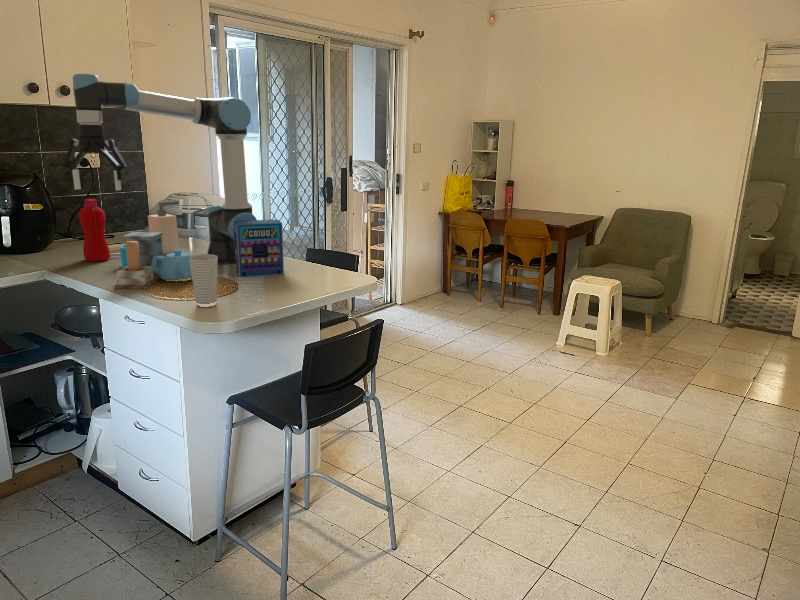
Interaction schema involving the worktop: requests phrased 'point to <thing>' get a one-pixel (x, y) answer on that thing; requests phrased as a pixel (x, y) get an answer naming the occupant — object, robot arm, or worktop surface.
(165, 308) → the worktop surface
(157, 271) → the teapot
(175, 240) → the soap dispenser
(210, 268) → the cup
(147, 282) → the socket station
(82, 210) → the water bottle
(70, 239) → the worktop surface
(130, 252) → the peg
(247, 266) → the box
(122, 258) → the mug
